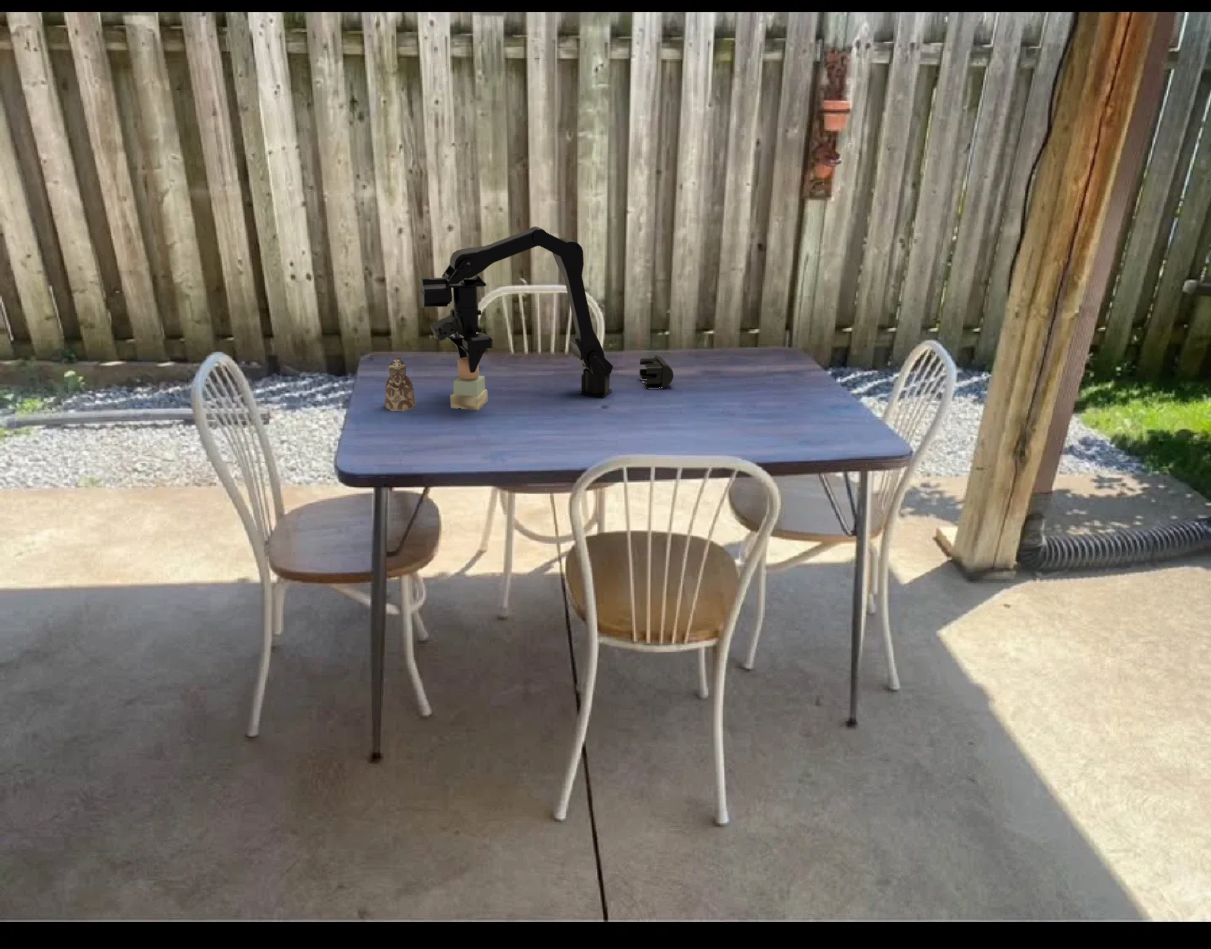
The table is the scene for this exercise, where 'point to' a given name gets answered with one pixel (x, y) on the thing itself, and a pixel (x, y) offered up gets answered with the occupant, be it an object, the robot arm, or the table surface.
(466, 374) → the orange-brown short cylinder
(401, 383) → the figurine
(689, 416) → the table surface
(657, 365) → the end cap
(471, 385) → the top block
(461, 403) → the base block
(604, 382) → the robot arm
